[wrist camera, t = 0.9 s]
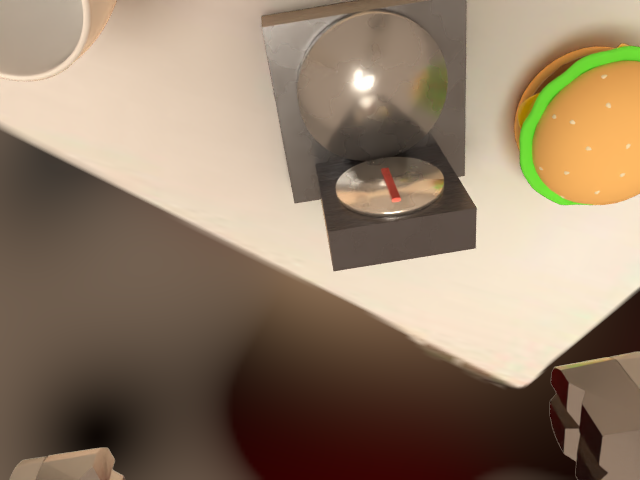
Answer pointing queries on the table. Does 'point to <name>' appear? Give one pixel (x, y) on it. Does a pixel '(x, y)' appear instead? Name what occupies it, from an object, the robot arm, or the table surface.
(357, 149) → the dial scale
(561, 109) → the hamburger
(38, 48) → the drinking glass
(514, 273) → the table surface
